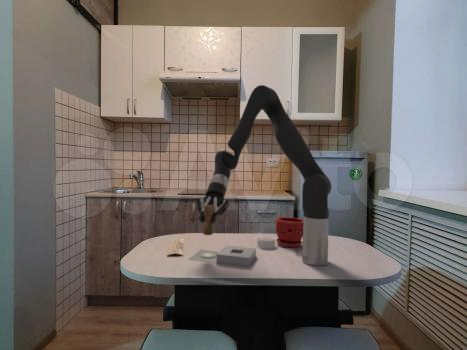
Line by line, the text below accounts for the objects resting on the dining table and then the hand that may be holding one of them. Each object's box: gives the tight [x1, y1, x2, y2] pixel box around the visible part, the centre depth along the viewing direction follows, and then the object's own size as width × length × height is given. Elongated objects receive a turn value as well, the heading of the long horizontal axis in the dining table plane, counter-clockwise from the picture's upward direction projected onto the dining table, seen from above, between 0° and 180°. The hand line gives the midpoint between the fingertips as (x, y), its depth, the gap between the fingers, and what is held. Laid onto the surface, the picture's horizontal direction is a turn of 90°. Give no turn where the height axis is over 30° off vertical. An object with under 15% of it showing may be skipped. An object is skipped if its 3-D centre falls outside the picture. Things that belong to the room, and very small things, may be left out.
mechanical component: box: [254, 236, 278, 250], centre depth 128 cm, size 10×4×10 cm
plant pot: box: [275, 216, 303, 248], centre depth 135 cm, size 13×13×12 cm
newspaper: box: [166, 237, 185, 257], centre depth 126 cm, size 24×7×2 cm, turn 8°
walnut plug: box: [202, 204, 214, 236], centre depth 112 cm, size 4×4×11 cm
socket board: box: [187, 245, 257, 268], centre depth 111 cm, size 23×13×4 cm, turn 75°
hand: (206, 221), depth 110 cm, fingers closed on walnut plug, 3 cm apart
